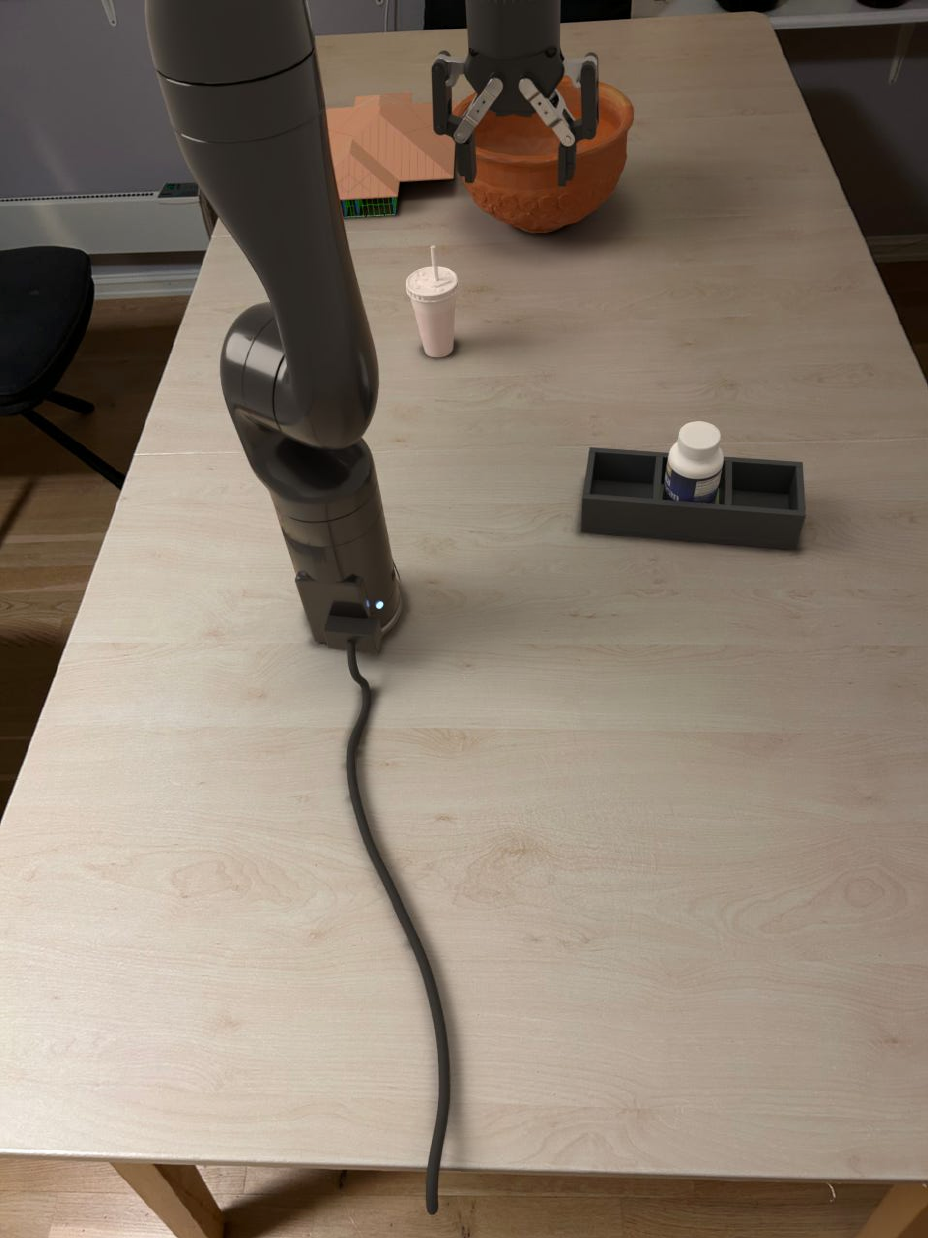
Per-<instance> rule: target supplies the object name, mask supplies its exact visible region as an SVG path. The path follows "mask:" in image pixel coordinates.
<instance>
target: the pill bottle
mask: <svg viewBox="0 0 928 1238" xmlns="http://www.w3.org/2000/svg"><path fill="white" fill-rule="evenodd" d="M721 438H722V434H721V432H720V430H719V428H717V426H716V425H714V424H712V423H710V422H706V421H701V420H695V421H691V422H690V421H689V422H688V423H685V424H683V426H681V428H680V429H679V432H678V437H677V441H676V442H675V443H674V444H673V445H672V446H671V448H670V450H669V451H668V453H669V456H668V462H667V468H666V475H665V483H664V490H663V497H662V500H672V501H685V502H697V503H710V504H715V501H716V497H717V492H718V487H719V482H720V477H721V472H722V468H723V462H724V457H725V455H724V452H723V449H722V448H721V447H720V445H721Z"/></svg>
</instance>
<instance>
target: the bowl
mask: <svg viewBox="0 0 928 1238" xmlns="http://www.w3.org/2000/svg"><path fill="white" fill-rule="evenodd" d="M556 89H557V90H558V92H559V93H560V95H561V96H562V98H563V99H564V101H565V105H566V107H567V108H568V110H569V111H570V113H571V114H572V116H573V117H574V119H575V120H577V119H580V118H582V115H581V89H576V88H574V86H573V84H572V80H571V78H570V77H568V76H565V75H564V76H563V79H562V80H561V82H560V83H559V85H558V86H557V87H556ZM476 94H477V93H476V92H475V91H474V92H473V93H470V95H468V96H466V97H465V98H464V99H462V100H461V101H460V102H459V103H458V104H457V106H456V107H455V108H454V110H453V112H452V114H453V115H455V116H458V117H460V118H462V116H463V115H464V113H465V112H466V110H467V109H468V107H469V106H470V104H471V102H472V101H473V99H474V97H475V96H476ZM634 121H635V107H634V105H633V103H632V101H631V100H630V98H629V97H628V96H627V95H626V94H624V93H623V92H622V91H621V90H620V89H618V88H616V87H615V86H613V85H611V84H608V83H606V82H602V81H599V123H598V126H597V132H596V135H595V137H594V138H593V139H591V140H587V139H583V140H580V141H578V142H577V151H576V169H575V173H574V176H573V179H572V180H568V181H567V185H566V187H558V147H559V143H560V140H559V138H558V137H557V135H556V134H555V133H554V131H553V130H552V129H551V128H549V127H548V126H547V125H546V124H545V123H544V121H543V120H542V118H541V117H540V116H539V114H538V113H535V114H532V117H521V116H518V115H515V114H512V115H508V116H505V117H502V116H496V114H495V113H493V112H491V111H490V110H489V109H488V111H487V112H486V114H485V115H484V117H483V118H482V119H481V121H480V122H479V124H478V125H477V126H476V127H475V129H474V130H473V132H472V133H475V147H476V165H477V174H476V177H475V180H474V183H465V176H460V177H461V179H462V182H463V185H464V187H465V188H466V189H467V191H468V193H469V196H470V197H471V199H472V200H473V202H474V203H475V204H476V205H477V206H478V207H479V209H481V210H482V211H483V212H485V213H487V214H489V215H490V216H492V218H493V219H496V220H497V221H499V222H502V223H504V224H507V225H508V226H510V227H513V228H518V229H520V230H522V231H523V232H524V233H525V232H526V233H529V234H530V233H531V234H547V233H550V232H555V231H558V230H560V229H562V228H563V227H564V226H567V225H571V224H576V223H578V222H580V221H582V220H583V219H584V218H586V216H588V215H591V214H592V213H593V212H595V211H596V210H597V209H599V207H601V205H602V204H604V202H605V201H607V199H609V197H611V195H612V194H613V192H614V191H615V190H616V187H617V184H618V182H619V181H620V178H621V175H622V173H623V172H624V169H625V165H626V163H627V159H628V151H627V150H628V149H627V147H628V135H629V130H630V129H631V128H632V126H633V124H634ZM451 138H452V137H451ZM452 140H453V141H454V139H453V138H452ZM454 142H455V141H454Z"/></svg>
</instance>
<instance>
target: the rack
mask: <svg viewBox="0 0 928 1238" xmlns="http://www.w3.org/2000/svg"><path fill="white" fill-rule="evenodd" d="M588 448H589V449H588V453H587V454H588V455H587V462H586V468H585V475H584V481H583V482H584V483H583V490H582V496H581V513H580V514H581V515H580V533H588V534H598V535H599V534H600V535H601V534H602V535H612V536H623V537H624V536H625V537H637V538H645V539H646V538H648V539H658V540H659V539H660V540H672V541H684V542H694V543H695V542H697V543H706V544H718V545H729V546H743V547H754V548H765V549H777V550H789V551H796V548H797V545H798V542H799V539H800V536H801V533H802V529H803V527H804V523H805V520H806V516H807V512H806V494H805V493H806V492H805V476H804V462H803V461H795V460H794V461H793V460H780V459H767V458H766V459H764V458H750V457H737V456H724V462H723V468H722V472H721V477H720V482H719V487H718V492H717V497H716V501H715V504H710V503H697V502H685V501H672V500H662V497H663V490H664V483H665V475H666V468H667V462H668V456H669V452H667V451H666V452H664V451H651V450H637V449H636V450H635V449H625V448H624V449H622V448H609V447H608V448H607V447H593V446H589V447H588Z"/></svg>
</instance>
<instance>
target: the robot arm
mask: <svg viewBox="0 0 928 1238" xmlns="http://www.w3.org/2000/svg"><path fill="white" fill-rule="evenodd" d="M464 1H465V13H466V15H465V17H466V32H467V56H466V57H459V56H452V55H451V54H450V52H449V51H447V50H444V49H442V50H441V51H439V52H438V54H437V55H436V57H435V59H434V62H433V64H432V65H431V69H430V70H431V96H432V97H431V99H432V100H431V102H433V129H434V132H435V133H436V134H437V135H444V134H445V135H447V136H450V137H452V138H453V139H454V141H455V155H456V165H457V172H458V175H459V176H460V177H461V176H465V183H474V180H475V177H476V174H477V165H476V147H475V133H472V132H473V130H474V129H475V127H476V126H477V125H478V124H479V122H480V121H481V119H482V118H483V117H484V115H485V114H486V112H487V111H488V109H489V110H490V111H491V112H493V113H495V114H496V116H502V117H505V116H508V115H512V114H515V115H518V116H521V117H532V114H535V113H538V114H539V116H540V117H541V118H542V120H543V121H544V123H545V124H546V125H547V126H548V127H549V128H551V129H552V130H553V131H554V133H555V134H556V135H557V137H558V138H559V140H560V143H559V147H558V187H566V185H567V181H568V180H572V179H573V176H574V173H575V169H576V151H577V142H578V141H580V140H583V139H587V140H591V139H593V138H594V137H595V135H596V132H597V126H598V123H599V80H600V78H599V77H600V75H599V74H600V73H599V56H598V54H597V53H596V52H593V51H591V52H587V53H586V54H585V55H584V57H577V58H576V57H575V58H565V56H564V54H563V52H562V48H561V1H562V0H464ZM309 6H310V5H309V1H308V0H144V22H145V28H146V29H145V30H146V36H147V42H148V46H149V52H150V55H151V59H152V60H151V61H152V64H153V66H154V71H155V74H156V77H157V81H158V84H159V87H160V92H161V95H162V99H163V101H164V105H165V109H166V113H167V116H168V118H169V122H170V123H169V124H170V127H171V129H172V132H173V136H174V139H175V142H176V144H177V147H178V149H179V152H180V154H181V156H182V159H183V161H184V163H185V164H186V166H187V168H188V170H189V172H190V173H191V175H192V177H193V179H194V181H195V182H196V184H197V186H198V187H199V189H200V191H201V192H202V194H203V196H204V197H205V199H206V201H207V202H208V203H209V205H210V208H212V210H213V211H214V213H215V215H216V216H217V217H218V219H219V220H220V221H221V223H222V225H223V227H224V228H225V229H226V230H227V232H228V233H229V234H230V236H231V237H232V240H234V242H235V243H236V244H237V246H238V247H239V249H240V250H241V252H242V253H243V255H244V256H245V258H246V259H247V261H248V262H249V264H250V266H251V267H252V269H253V271H254V272H255V273H256V276H257V277H258V279H259V281H260V283H261V285H262V287H263V289H264V291H265V294H266V296H267V298H268V300H269V301H266V302H265V301H264V302H259V303H256V304H254V305H252V306H250V307H248V308H246V309H244V311H242V312H241V313H239V315H238V316H237V317H236V318H235V319H234V320H233V322H232V323H231V325H230V326H229V328H228V331H227V332H226V334H225V337H224V340H223V343H222V347H221V352H220V359H219V361H220V362H219V377H220V385H221V389H222V395H223V399H224V402H225V405H226V408H227V410H228V414H229V416H230V419H231V422H232V424H233V427H234V429H235V431H236V434H237V436H238V439H239V442H240V444H241V447H242V449H243V452H244V454H245V456H246V459H247V462H248V464H249V466H250V468H251V470H252V472H253V474H254V476H255V477H256V478H257V479H258V480H259V482H261V484H262V485H263V486H264V487H265V488H266V489H267V491H268V492H269V495H270V498H271V499H270V500H271V501H272V503H273V506H274V510H275V514H276V516H277V520H278V523H279V526H280V529H281V533H282V536H283V540H284V542H285V545H286V549H287V551H288V555H289V558H290V561H291V565H292V568H293V570H294V574H295V577H294V583H295V587H296V589H297V593H298V596H299V599H300V601H301V605H302V608H303V611H304V615H305V617H306V619H307V620H306V621H307V623H308V626H309V629H310V632H311V636H312V639H313V641H314V642H315V643H320V644H326V646H327V648H328V649H329V650H330V649H331V650H340V651H346V659H347V667H348V671H349V674H350V676H351V678H352V680H353V681H354V682H355V683H356V684H358V685H359V686H360V691H361V698H362V700H361V701H362V702H361V708H360V712H359V715H358V717H357V720H356V723H355V725H354V727H353V729H352V731H351V734H350V736H349V739H348V743H347V748H346V757H345V759H346V763H345V765H346V779H347V786H348V792H349V798H350V801H351V805H352V809H353V813H354V817H355V821H356V823H357V826H358V830H359V833H360V835H361V838H362V842H363V844H364V846H365V849H366V852H367V854H368V856H369V858H370V859H371V863H372V865H373V866H374V869H375V870H376V872H377V874H378V877H379V879H380V881H381V883H382V885H383V887H384V889H385V890H386V893H387V895H388V898H389V900H390V902H391V904H392V907H393V909H394V912H395V914H396V916H397V918H398V920H399V922H400V924H401V926H402V929H403V932H404V934H405V935H406V939H407V940H408V942H409V944H410V947H411V949H412V951H413V954H414V957H415V959H416V962H417V964H418V967H419V970H420V974H421V976H422V979H423V983H424V986H425V991H426V995H427V998H428V999H427V1000H428V1003H429V1007H430V1012H431V1017H432V1022H433V1027H434V1033H435V1034H434V1035H435V1042H436V1050H437V1051H436V1052H437V1053H436V1054H437V1069H438V1071H437V1072H438V1097H437V1109H436V1115H435V1122H434V1127H433V1133H432V1138H431V1142H430V1143H431V1144H430V1149H429V1154H428V1160H427V1168H426V1178H425V1207H426V1211H427V1213H428V1214H429V1215H430V1216H435V1214H437V1213H438V1210H439V1178H440V1177H439V1176H440V1169H441V1168H440V1167H441V1160H442V1154H443V1148H444V1143H445V1138H446V1134H447V1133H446V1132H447V1127H448V1120H449V1113H450V1102H451V1069H450V1067H451V1066H450V1052H449V1051H450V1049H449V1042H448V1033H447V1027H446V1022H445V1016H444V1011H443V1008H442V1003H441V999H440V995H439V994H440V993H439V991H438V987H437V983H436V979H435V977H434V976H435V975H434V973H433V969H432V967H431V964H430V960H429V958H428V955H427V953H426V951H425V948H424V946H423V943H422V941H421V939H420V937H419V935H418V932H417V929H416V927H415V926H414V924H413V922H412V920H411V917H410V915H409V913H408V911H407V909H406V907H405V903H404V902H403V899H402V898H401V895H400V893H399V890H398V888H397V887H396V884H395V882H394V880H393V878H392V876H391V874H390V872H389V870H388V868H387V866H386V865H385V862H384V860H383V858H382V856H381V854H380V852H379V850H378V847H377V844H376V843H375V840H374V837H373V835H372V832H371V829H370V825H369V823H368V820H367V816H366V813H365V811H364V806H363V803H362V799H361V794H360V791H359V786H358V785H359V784H358V780H357V779H358V778H357V765H356V764H357V763H356V762H357V759H356V758H357V757H356V756H357V747H358V743H359V739H360V737H361V734H362V732H363V730H364V727H365V725H366V723H367V721H368V718H369V714H370V710H371V707H372V692H371V687H370V683H369V681H368V680H367V678H365V677H364V676H363V675H362V674H361V673H360V670H359V668H358V663H357V662H358V661H357V654H356V653H359V652H360V653H367V654H376V655H377V654H378V653H379V649H380V646H381V642H382V639H383V636H385V635H386V634H388V633H389V632H390V631H391V629H393V628H394V627H395V625H396V624H397V623H398V621H399V620H400V619H399V618H400V617H401V613H402V611H403V610H402V609H403V601H402V595H401V591H400V588H399V584H398V580H399V583H402V580H401V576H400V573H399V570H398V569H397V566H396V563H395V561H394V557H393V555H392V548H391V543H390V538H389V532H388V527H387V522H386V517H385V512H384V506H383V501H382V496H381V490H380V484H379V480H378V474H377V469H376V464H375V459H374V454H373V453H372V449H371V448H370V447H369V445H368V443H367V442H366V440H365V439H364V438H363V436H364V435H365V434H366V432H367V430H368V428H369V427H370V425H371V423H372V420H373V418H374V416H375V413H376V409H377V405H378V399H379V390H380V370H379V361H378V355H377V349H376V345H375V340H374V336H373V333H372V329H371V325H370V321H369V318H368V315H367V310H366V307H365V304H364V300H363V296H362V293H361V288H360V285H359V280H358V278H357V274H356V270H355V267H354V262H353V257H352V254H351V253H352V252H351V248H350V245H349V239H348V234H347V229H346V224H345V219H344V218H343V217H344V211H343V207H341V206H342V202H341V200H340V196H339V191H338V186H337V181H336V176H335V170H334V164H333V158H332V152H331V145H330V138H329V130H328V122H327V114H326V109H327V106H326V100H325V99H326V98H325V91H324V85H323V80H322V73H321V67H320V60H319V53H318V49H317V43H316V37H315V31H314V27H313V21H312V16H311V11H310V7H309ZM461 75H463V76H464V78H465V80H466V81H467V82H468V84H469V85H470V86H471V88H472V89H473V91H474V92H476V93H477V94H476V96H475V97H474V99H473V101H472V102H471V104H470V106H469V107H468V109H467V110H466V112H465V113H464V115H463V116H462V118H460V117H458V116H455V115H453V114H452V101H453V88H455V86H456V85H457V83H458V81H459V79H460V76H461ZM564 75H565V76H568V77H570V78H571V80H572V84H573V86H574V88H576V89H581V115H582V118H580V119H577V120H575V119H574V117H573V116H572V114H571V113H570V111H569V110H568V108H567V107H566V105H565V101H564V99H563V98H562V96H561V95H560V93H559V92H558V90H557V89H556V87H557V86H558V85H559V83H560V82H561V80H562V79H563V76H564ZM397 577H398V579H397Z"/></svg>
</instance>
